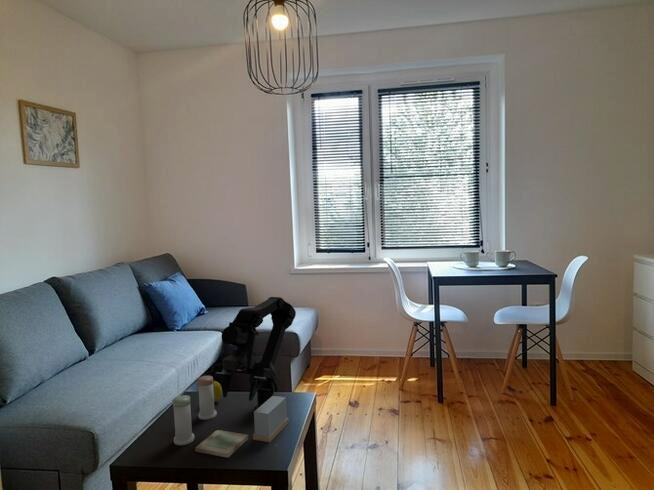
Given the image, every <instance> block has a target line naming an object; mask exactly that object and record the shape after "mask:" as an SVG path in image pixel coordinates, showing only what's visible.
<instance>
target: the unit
mask: <svg viewBox="0 0 654 490" xmlns="http://www.w3.org/2000/svg"><path fill="white" fill-rule="evenodd" d="M287 410H288V409H287V397H285V396H278V395H277V396H276V395H274V396H272V397H271V398H269V399H268V400H267V401H266V402H265V403H264V404H262V405H261V406H260V407H259V408H258V409H254V410H253V419H254V421H253V422H254V433H253V434H252V438H253V439H252V440H254V441H260V442H264V443H271V442H272V441H273V440H274V439H275V438H276V437H277V435H279V434H280V432H282V431H283V429H284V428H286V427H287V425H288V424H289V423H290V418H289V417H288V415H287V413H288V412H287Z"/></svg>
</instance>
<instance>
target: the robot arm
mask: <svg viewBox="0 0 654 490" xmlns="http://www.w3.org/2000/svg"><path fill="white" fill-rule="evenodd" d="M268 315H270V316H271V317H270V318H271V322H272V327H271V330H270V334H269V336H268V340H267V342H266V345H265V348H264V351H263V353H262V357H261V359H260V361H259V362H254V363H253V358H254V357H255V356H256V352H254V351H255V343H256V339H257V338H256V337H257V336H258V337H259V332H258V331H257V328H258V327H260V326H261V325H262V323H264V318H265V317H267V316H268ZM296 316H297V313H296V310H295V308H294V307H293V305H292V304H290V303H289V302H287V301H285V300H284V298H282V297H281V296H270V297H267V299H266V300H264V301H263V302H261V303H258V304H257V305H256V306H253V307H244V308H241V309H239V311H238V312H237V314H236V316H235V317H234V319H233V321H232V322H229V323H228V326H226V327H225V328H224V329H223V331H222V332H221V336H220V337H221V341H222V342H223V343H224V344H225V345H227V346H232V347H235V349H232V354H231V355H229V356H226V357H225V358H223V359H222V363H219V362H214V364H213V365H212V366H211V372H213V373H214V375H215V376H217V378H218V379H219V380H220V381H219V382H220V385H221V387H222V397H223V398H227V396H228V393H229V389H230V385H231V380H232V376H233V374H230V373H236V374H237V373H238V374H244V375H245V374H247V375H249V377H248V379H249V380H248V381H249V384H250V390H249V395H248V401H249V402H252V401H253V399H254V398H255V395H257V398H256V399H257V404H256V405H254V407H253V409H254V410H257V409H258V408H259V407H260V406H261V405H262V404H264V403H265V402H266V401H267V400H268V399H269V398H271V397H272V396H275V393H276V392H279V389H280V386H281V385H280V380H279V379H278V378H277V372H276V369H275V364H276V360H277V358H278V354H279V351H280V348H281V344H282V342H283V338H284V336H285V333H286V330H287V329H288V328H289V327H291V326H292V324H293V322H294V320H295V318H296Z"/></svg>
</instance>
